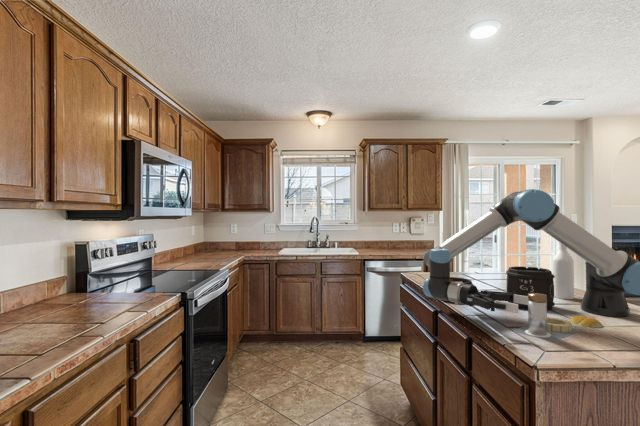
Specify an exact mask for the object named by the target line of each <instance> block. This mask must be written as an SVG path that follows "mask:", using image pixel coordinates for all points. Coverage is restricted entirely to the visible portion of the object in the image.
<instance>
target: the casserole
mask: <svg viewBox="0 0 640 426" xmlns="http://www.w3.org/2000/svg"><path fill="white" fill-rule="evenodd" d="M450 281H451V282H459V283H464V284H471V285H474V283H473V282H472V280H471V279H468V278H464V277H458V276H457V277H454V276H450Z"/></svg>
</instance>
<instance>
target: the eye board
mask: <svg viewBox="0 0 640 426" xmlns="http://www.w3.org/2000/svg"><path fill="white" fill-rule="evenodd" d="M581 330H582V329H580V328H577V327H573V323H571V322H570V320H569V321H568V320H566V319H563V318H557V317H550V316H547V335H545V336H540V335H534V334H531V333H529V332H528V324H527V325H525V326H522V327H519V328H516V329H513V330H512V332H514V333H518V334H521V335H525V336H528V337H529V336H530V337H532V338H536V339H540V340H544V341H547V342H551V343H555V342H557V341H560V340H561V339H565V338H566V337H568V336H570V335H573V334H575V333H577V332H580V331H581Z"/></svg>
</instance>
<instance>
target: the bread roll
mask: <svg viewBox="0 0 640 426" xmlns="http://www.w3.org/2000/svg"><path fill="white" fill-rule="evenodd" d="M569 322H571V324H572V325H576V326H581V327H584V328H595V329H596V328H604V325H603V324H602V322H600V321H599V320H597V319H596V318H593V317H589V318H588V317H586V316H585V315H575V316H573V317H572V318H570V320H569Z"/></svg>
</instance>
